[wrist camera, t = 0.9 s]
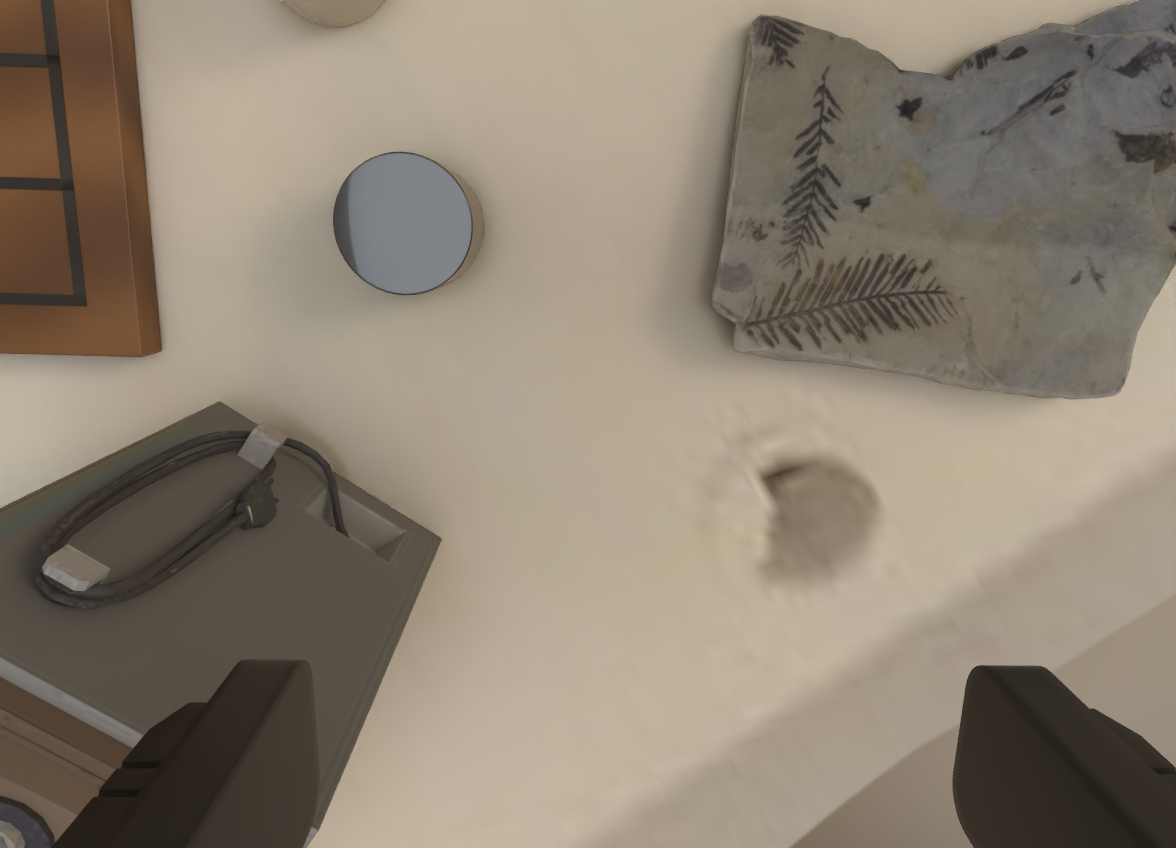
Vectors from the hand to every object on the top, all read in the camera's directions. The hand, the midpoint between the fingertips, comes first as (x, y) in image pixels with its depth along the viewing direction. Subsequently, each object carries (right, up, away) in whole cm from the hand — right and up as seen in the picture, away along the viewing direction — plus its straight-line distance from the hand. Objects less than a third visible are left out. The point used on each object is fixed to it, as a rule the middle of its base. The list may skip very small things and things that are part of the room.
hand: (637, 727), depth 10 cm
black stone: (-7, +11, +21) cm, 24 cm away
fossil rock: (+13, +13, +21) cm, 28 cm away
